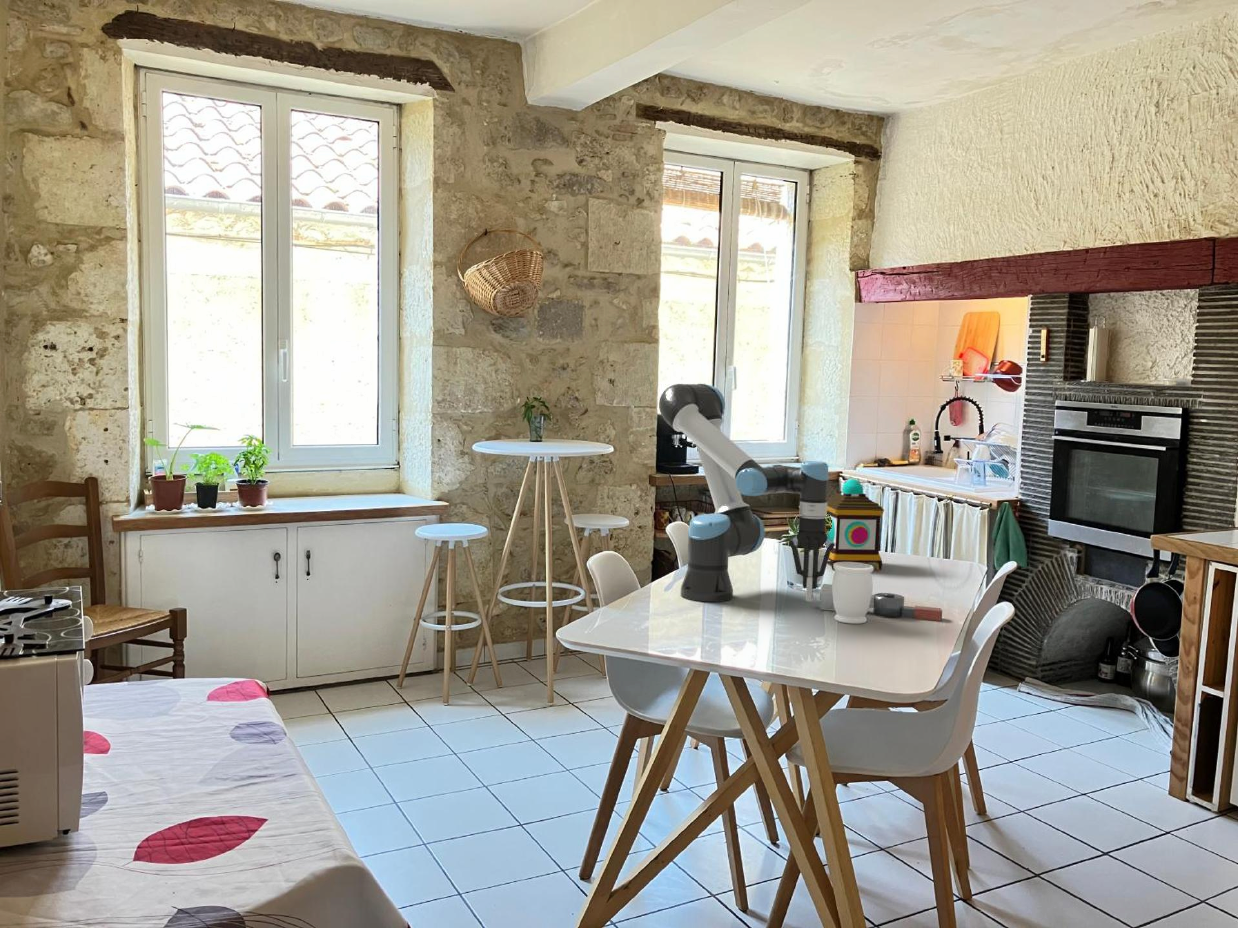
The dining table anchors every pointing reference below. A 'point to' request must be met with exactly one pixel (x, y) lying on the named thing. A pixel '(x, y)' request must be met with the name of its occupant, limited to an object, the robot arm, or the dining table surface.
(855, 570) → the jar
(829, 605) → the grey cube
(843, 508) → the decorative lantern
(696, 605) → the dining table surface
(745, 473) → the robot arm
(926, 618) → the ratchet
